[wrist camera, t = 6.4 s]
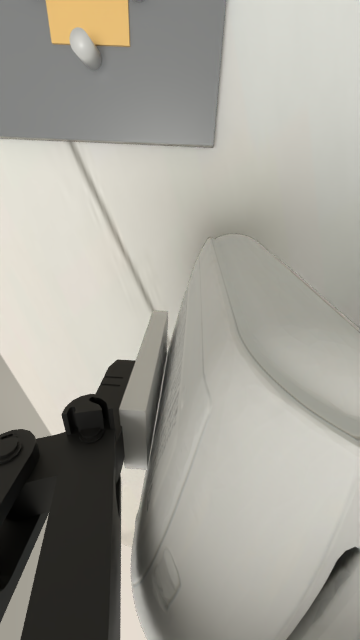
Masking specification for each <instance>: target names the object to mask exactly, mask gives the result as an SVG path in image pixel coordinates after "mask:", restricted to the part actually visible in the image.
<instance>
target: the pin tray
mask: <svg viewBox="0 0 360 640" xmlns="http://www.w3.org/2000/svg"><path fill="white" fill-rule="evenodd" d="M225 6H226V0H0V138H2V139H25V140H49V141H72V142H95V143H118V144H141V145H164V146H187V147H211V148H213V145H214V133H215V122H216V110H217V99H218V87H219V75H220V64H221V52H222V41H223V29H224V18H225Z"/></svg>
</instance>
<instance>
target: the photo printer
mask: <svg viewBox="0 0 360 640" xmlns="http://www.w3.org/2000/svg"><path fill="white" fill-rule="evenodd" d="M131 582H132V592H133V598H134V604H135V608H136V612H137V615H138V618H139V621H140V624H141V627H142V629H143V632H144V634H145V636H146V638H147V640H360V328H358V327H357V326H356V325H355V324H354V323H353V322H352V321H350V320H349V319H348V318H347V317H346V316H345V315H343V314H342V313H341V312H340V311H339V310H337V309H336V308H335V307H334V306H333V305H332V304H331V303H329V302H328V301H327V300H326V299H325V298H324V297H323V296H322V295H320V294H319V293H318V292H317V291H316V290H315V289H314V288H312V287H311V286H310V285H309V284H308V283H307V282H305V281H304V280H303V279H302V278H301V277H300V276H298V275H297V274H296V273H295V272H294V271H293V270H292V269H290V268H289V267H288V266H287V265H286V264H284V263H283V262H282V261H281V260H280V259H278V258H277V257H275V256H273V255H272V254H271V253H270V252H269V251H268V250H267V249H265V248H264V247H263V246H262V245H261V244H260V243H258V242H257V241H256V240H254V239H253V238H251V237H249V236H246V235H242V234H227V235H223V236H220V237H218V238H216V239H213V238H211V237H209V238H208V239H207V241H206V242H205V244H204V246H203V248H202V250H201V252H200V254H199V256H198V258H197V260H196V262H195V265H194V268H193V271H192V274H191V277H190V280H189V283H188V286H187V289H186V292H185V295H184V298H183V301H182V305H181V308H180V311H179V315H178V318H177V321H176V325H175V328H174V331H173V335H172V338H171V342H170V346H169V349H168V353H167V357H166V363H165V369H164V375H163V381H162V386H161V392H160V398H159V404H158V410H157V416H156V422H155V427H154V433H153V439H152V445H151V451H150V457H149V463H148V469H147V470H146V473H145V478H144V484H143V490H142V495H141V501H140V506H139V510H138V513H137V516H136V521H135V533H134V539H133V545H132V555H131Z"/></svg>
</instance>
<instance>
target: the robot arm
mask: <svg viewBox="0 0 360 640" xmlns="http://www.w3.org/2000/svg"><path fill="white" fill-rule="evenodd" d="M167 326H168V311H153V313H152V315H151V318H150V321H149V324H148V327H147V330H146V333H145V336H144V338H143V341H142V344H141V347H140V350H139V353H138V356H137V359H136V361H131V360H116V361H115V362H114V363H113V364H112V365H111V366H109V368H108V370H107V372H106V374H105V376H104V378H103V380H102V382H101V385H100V386H99V388H98V390H97V392H96V394H89V395H84V396H81V397H79V398H77V399H75V400H73V401H72V402H71V403H69V404H68V405H67V406H66V407H65V409H64V411H63V413H62V418H63V422H64V426H65V430H66V432H64V433H60V434H57V435H52V436H48V437H43V438H38V439H36V438H35V436H34V435H33V434H32V433H31V432H30V431H27V430H23V429H18V430H11V431H9V432H6V433H3V434H1V435H0V622H1V620H2V618H3V615H4V613H5V611H6V609H7V606H8V604H9V602H10V599H11V597H12V595H13V593H14V590H15V588H16V586H17V584H18V581H19V579H20V577H21V575H22V572H23V570H24V568H25V566H26V563H27V561H28V559H29V557H30V554H31V552H32V550H33V548H34V545H35V543H36V541H37V538H38V536H39V534H40V531H41V529H42V527H43V525H44V523H45V520H46V518H47V516H48V513H49V516H48V521H47V525H46V530H45V534H44V539H43V543H42V547H41V552H40V556H39V560H38V565H37V569H36V574H35V578H34V583H33V587H32V591H31V596H30V600H29V605H28V610H27V613H26V618H25V622H24V627H23V631H22V636H21V640H120V588H121V587H120V586H121V584H120V583H121V582H120V581H121V476H120V473H121V469H122V465H123V461H124V466H125V468H129V469H142V470H147V469H148V463H149V457H150V451H151V445H152V439H153V433H154V427H155V422H156V416H157V410H158V404H159V398H160V392H161V386H162V381H163V375H164V369H165V363H166V357H167Z"/></svg>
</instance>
